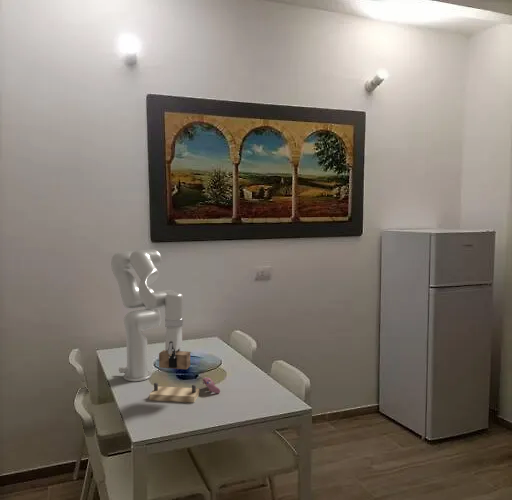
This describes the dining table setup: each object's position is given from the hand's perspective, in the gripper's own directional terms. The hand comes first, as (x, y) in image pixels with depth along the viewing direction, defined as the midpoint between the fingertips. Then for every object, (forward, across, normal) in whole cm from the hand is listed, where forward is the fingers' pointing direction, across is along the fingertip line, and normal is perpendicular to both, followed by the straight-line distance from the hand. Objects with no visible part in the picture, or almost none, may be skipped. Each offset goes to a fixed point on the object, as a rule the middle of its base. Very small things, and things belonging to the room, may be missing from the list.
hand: (174, 364), depth 201 cm
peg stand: (+14, 0, 0) cm, 14 cm away
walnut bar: (+1, 0, 0) cm, 1 cm away
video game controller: (+14, -9, +14) cm, 22 cm away
